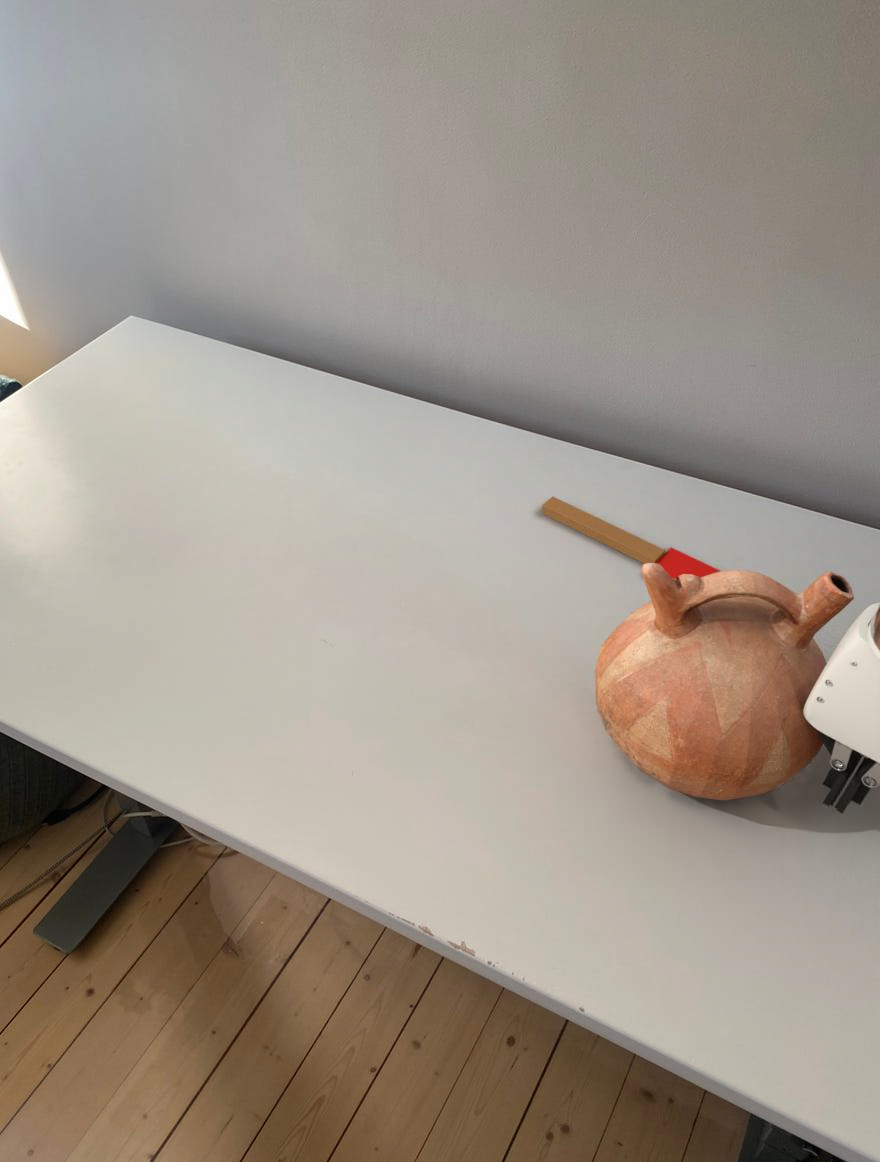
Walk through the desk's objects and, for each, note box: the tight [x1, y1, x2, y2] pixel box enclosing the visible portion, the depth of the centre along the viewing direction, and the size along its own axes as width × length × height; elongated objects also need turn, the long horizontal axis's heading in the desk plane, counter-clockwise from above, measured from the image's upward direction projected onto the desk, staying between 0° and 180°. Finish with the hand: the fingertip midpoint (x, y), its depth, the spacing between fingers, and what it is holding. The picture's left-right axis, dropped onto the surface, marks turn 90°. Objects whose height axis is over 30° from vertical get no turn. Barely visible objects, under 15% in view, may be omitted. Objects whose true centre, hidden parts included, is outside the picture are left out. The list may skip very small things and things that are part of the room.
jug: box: [594, 563, 855, 801], centre depth 73 cm, size 18×18×20 cm
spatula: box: [541, 496, 722, 579], centre depth 97 cm, size 4×22×1 cm, turn 49°
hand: (839, 796), depth 72 cm, fingers closed
